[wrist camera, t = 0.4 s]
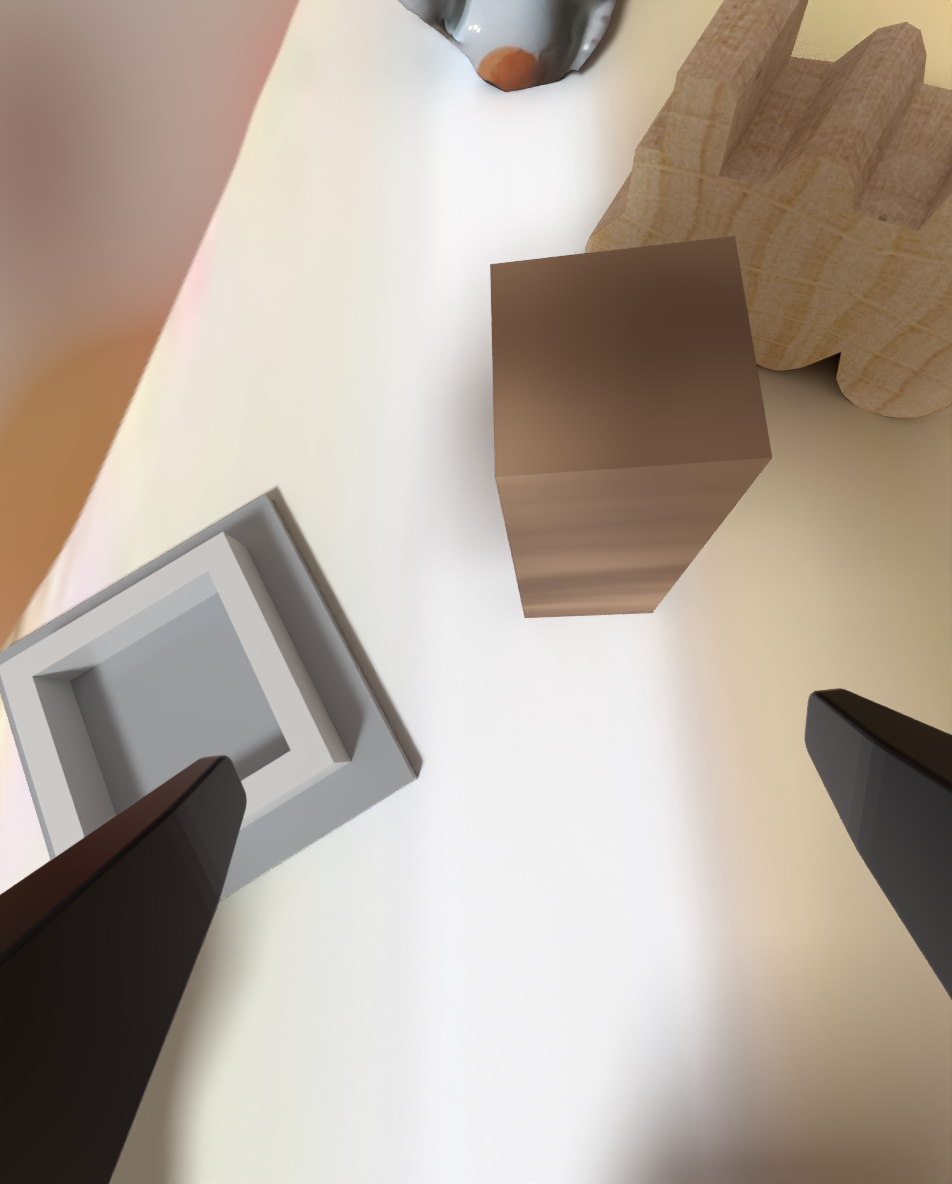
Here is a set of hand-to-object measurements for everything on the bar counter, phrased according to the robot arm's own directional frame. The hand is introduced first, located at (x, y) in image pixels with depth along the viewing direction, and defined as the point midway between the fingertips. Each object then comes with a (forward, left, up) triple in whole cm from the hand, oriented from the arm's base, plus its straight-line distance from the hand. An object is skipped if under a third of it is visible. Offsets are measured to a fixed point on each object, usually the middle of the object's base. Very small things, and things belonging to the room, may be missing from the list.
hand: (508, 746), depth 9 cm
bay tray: (+11, +9, -13) cm, 19 cm away
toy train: (+5, -21, -13) cm, 25 cm away
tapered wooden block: (+4, -7, -13) cm, 15 cm away
